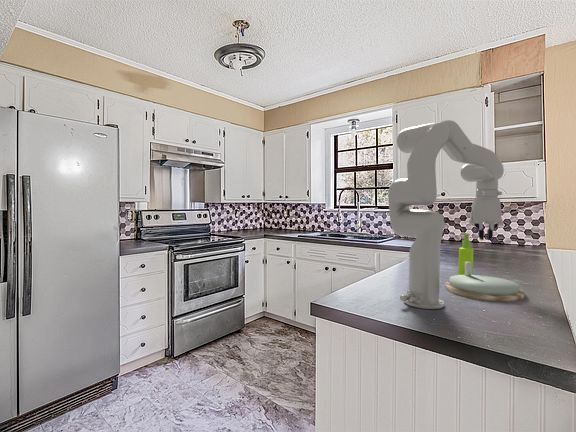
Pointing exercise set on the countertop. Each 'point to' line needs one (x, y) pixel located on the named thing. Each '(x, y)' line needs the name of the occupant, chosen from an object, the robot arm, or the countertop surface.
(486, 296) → the base
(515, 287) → the dial
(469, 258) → the soap dispenser
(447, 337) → the countertop surface
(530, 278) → the countertop surface
